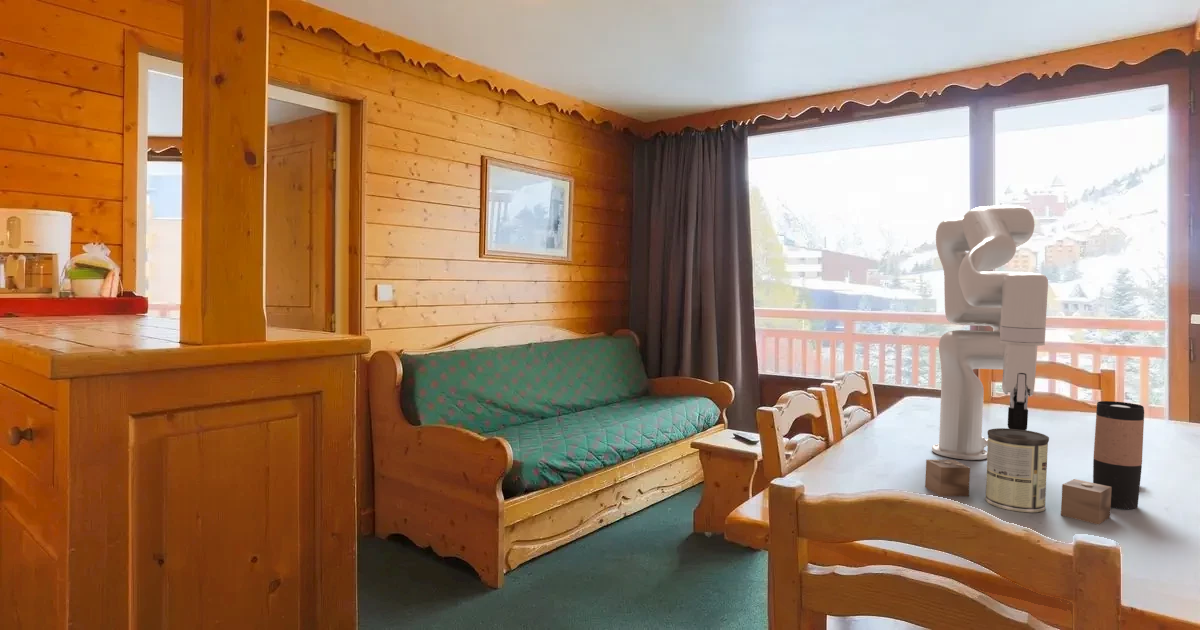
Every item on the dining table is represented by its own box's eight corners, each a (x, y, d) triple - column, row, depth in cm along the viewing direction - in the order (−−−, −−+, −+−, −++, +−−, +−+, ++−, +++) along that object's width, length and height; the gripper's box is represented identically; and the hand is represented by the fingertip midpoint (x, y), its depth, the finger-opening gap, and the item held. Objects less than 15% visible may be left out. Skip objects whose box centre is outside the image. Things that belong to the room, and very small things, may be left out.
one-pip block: (1072, 509, 131) (1074, 477, 131) (1110, 518, 126) (1111, 485, 126) (1060, 515, 127) (1062, 483, 127) (1098, 525, 123) (1100, 491, 122)
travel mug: (1081, 497, 138) (1086, 401, 137) (1116, 497, 138) (1121, 400, 137) (1113, 510, 130) (1118, 408, 129) (1149, 510, 131) (1155, 408, 130)
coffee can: (982, 492, 140) (985, 425, 139) (1040, 500, 136) (1044, 431, 135) (987, 507, 131) (990, 436, 130) (1050, 516, 127) (1053, 442, 126)
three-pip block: (952, 487, 144) (954, 458, 144) (968, 496, 138) (970, 466, 138) (925, 487, 144) (926, 458, 144) (940, 496, 138) (941, 466, 138)
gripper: (998, 332, 140) (993, 419, 141) (1001, 338, 127) (996, 434, 128) (1041, 334, 136) (1036, 423, 138) (1049, 341, 123) (1043, 439, 125)
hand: (1017, 428), depth 133 cm, fingers closed
